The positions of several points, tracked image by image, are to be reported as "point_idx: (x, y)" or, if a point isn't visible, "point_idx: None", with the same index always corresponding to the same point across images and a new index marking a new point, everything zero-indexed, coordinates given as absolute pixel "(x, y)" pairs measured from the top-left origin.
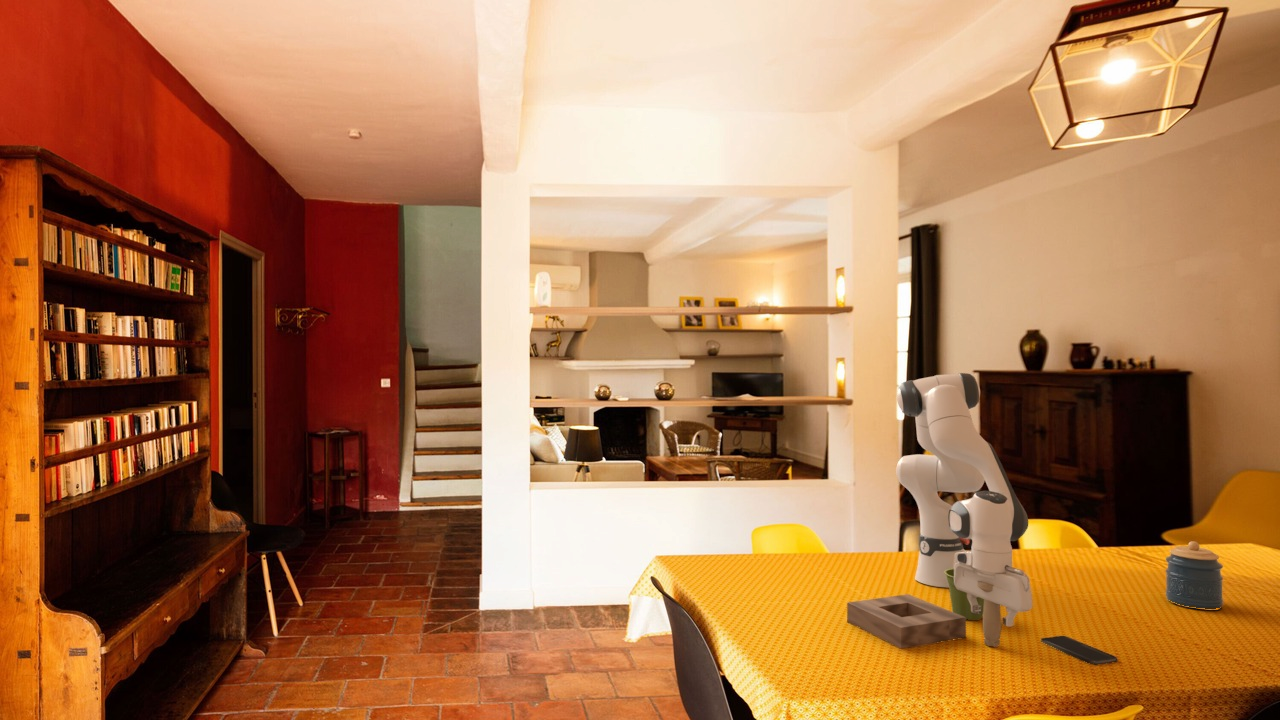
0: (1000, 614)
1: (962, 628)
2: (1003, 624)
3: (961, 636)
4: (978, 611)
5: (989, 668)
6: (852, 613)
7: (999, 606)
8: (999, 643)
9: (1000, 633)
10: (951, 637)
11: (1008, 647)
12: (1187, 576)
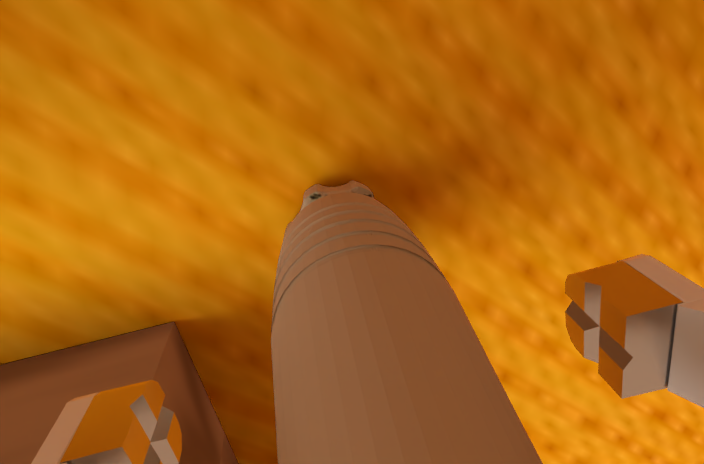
0: (465, 327)
1: (171, 400)
2: (568, 329)
3: (186, 364)
4: (156, 420)
5: (619, 406)
6: None
7: (530, 444)
8: (368, 188)
9: (398, 218)
10: (217, 435)
11: (394, 124)
12: None
